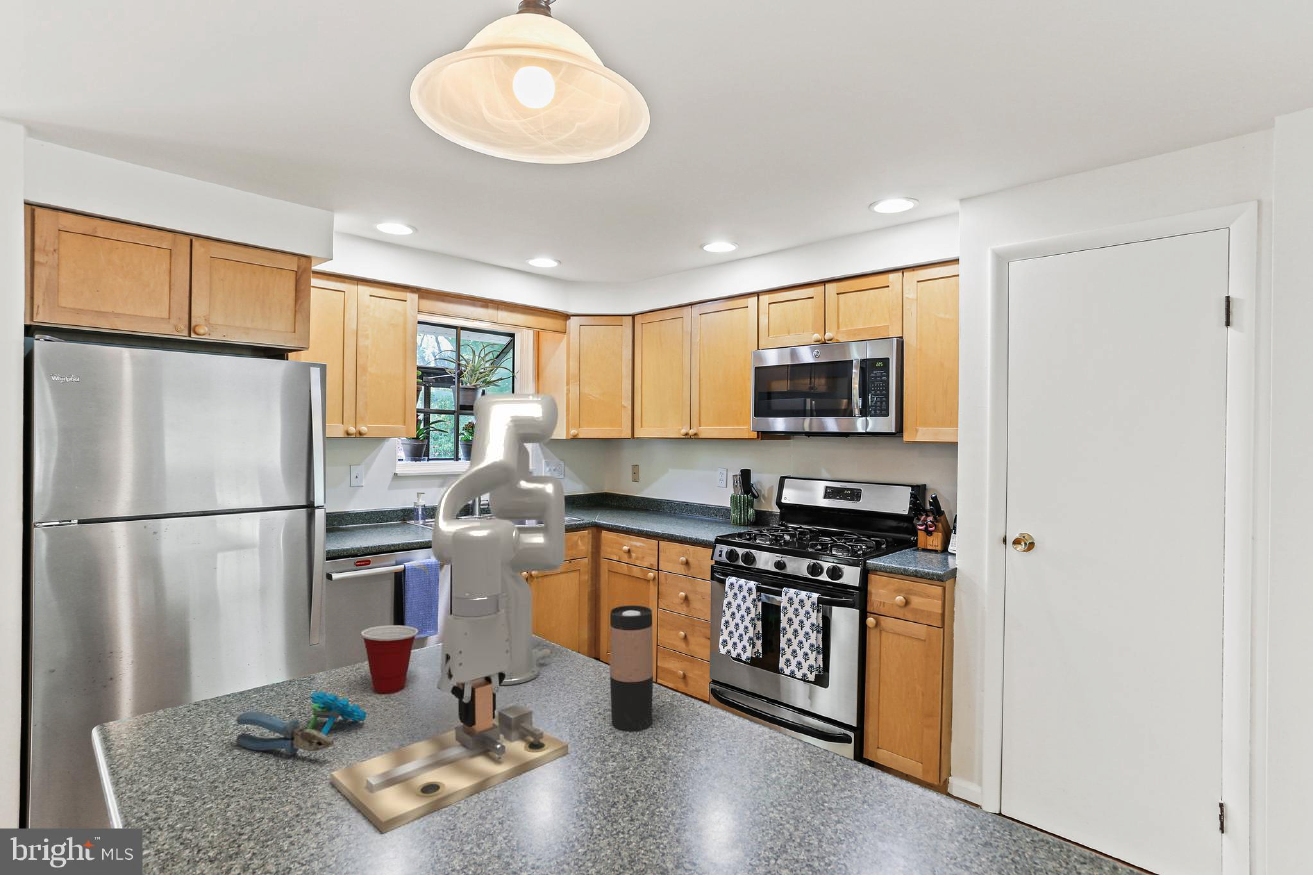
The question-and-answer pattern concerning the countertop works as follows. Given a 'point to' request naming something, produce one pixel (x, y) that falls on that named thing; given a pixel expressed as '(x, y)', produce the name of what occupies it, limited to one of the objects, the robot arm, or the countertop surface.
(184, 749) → the countertop surface
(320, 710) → the gear
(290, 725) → the pliers
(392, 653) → the plastic cup
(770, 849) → the countertop surface
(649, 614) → the travel mug
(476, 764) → the wooden slide jig
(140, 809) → the countertop surface
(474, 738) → the block
